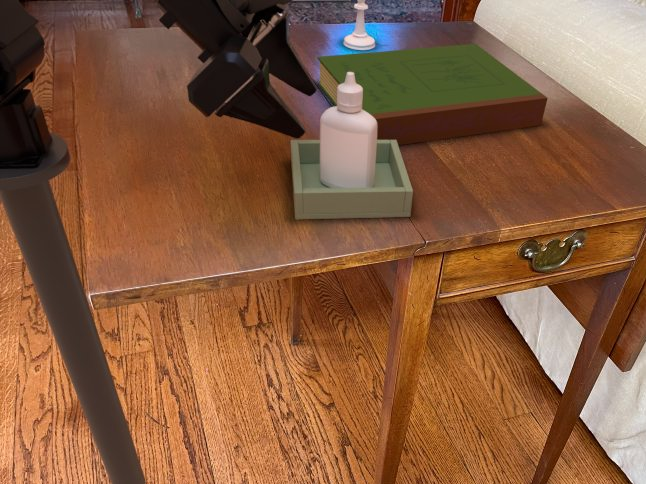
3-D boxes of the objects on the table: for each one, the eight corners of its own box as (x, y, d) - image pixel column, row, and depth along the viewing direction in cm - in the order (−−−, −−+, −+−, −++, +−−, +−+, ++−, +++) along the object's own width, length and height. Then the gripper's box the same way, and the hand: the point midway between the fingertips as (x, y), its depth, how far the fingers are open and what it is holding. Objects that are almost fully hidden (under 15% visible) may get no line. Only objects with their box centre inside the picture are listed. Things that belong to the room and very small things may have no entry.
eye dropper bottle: (347, 203, 65) (351, 89, 57) (314, 179, 68) (313, 67, 60) (380, 190, 67) (388, 78, 59) (346, 167, 70) (349, 58, 62)
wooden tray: (295, 219, 63) (294, 192, 61) (291, 165, 71) (290, 139, 68) (410, 217, 65) (413, 191, 63) (394, 164, 73) (396, 139, 70)
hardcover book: (369, 149, 75) (370, 119, 72) (317, 84, 87) (317, 56, 84) (545, 124, 84) (552, 97, 81) (476, 68, 96) (480, 43, 93)
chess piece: (377, 40, 101) (381, -28, 95) (372, 52, 97) (376, -19, 91) (346, 37, 101) (348, -32, 95) (341, 48, 98) (342, -23, 91)
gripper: (212, -63, 44) (364, 104, 52) (260, -112, 58) (374, 26, 66) (118, 42, 48) (270, 180, 56) (184, -27, 62) (298, 92, 70)
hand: (308, 113), depth 62 cm, fingers open, 9 cm apart
